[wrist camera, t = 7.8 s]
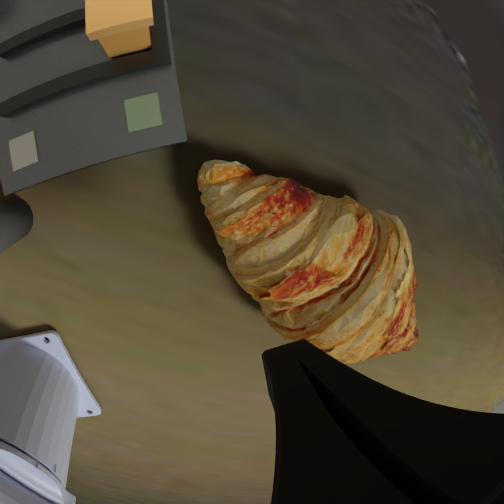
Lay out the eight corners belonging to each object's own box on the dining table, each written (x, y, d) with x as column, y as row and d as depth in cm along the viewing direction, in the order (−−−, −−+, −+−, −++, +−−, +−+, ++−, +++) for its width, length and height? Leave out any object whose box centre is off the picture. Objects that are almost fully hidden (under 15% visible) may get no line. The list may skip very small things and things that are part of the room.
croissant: (167, 199, 20) (122, 285, 14) (269, 81, 15) (265, 116, 9) (360, 333, 28) (371, 408, 22) (448, 278, 23) (480, 354, 16)
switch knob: (106, 62, 11) (86, 34, 7) (102, 18, 10) (85, -19, 6) (156, 50, 11) (153, 17, 8) (151, 7, 10) (148, -34, 7)
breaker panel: (23, 189, 14) (-3, 198, 11) (11, 16, 10) (-11, -2, 6) (184, 142, 16) (188, 140, 13) (160, -33, 11) (161, -62, 8)
